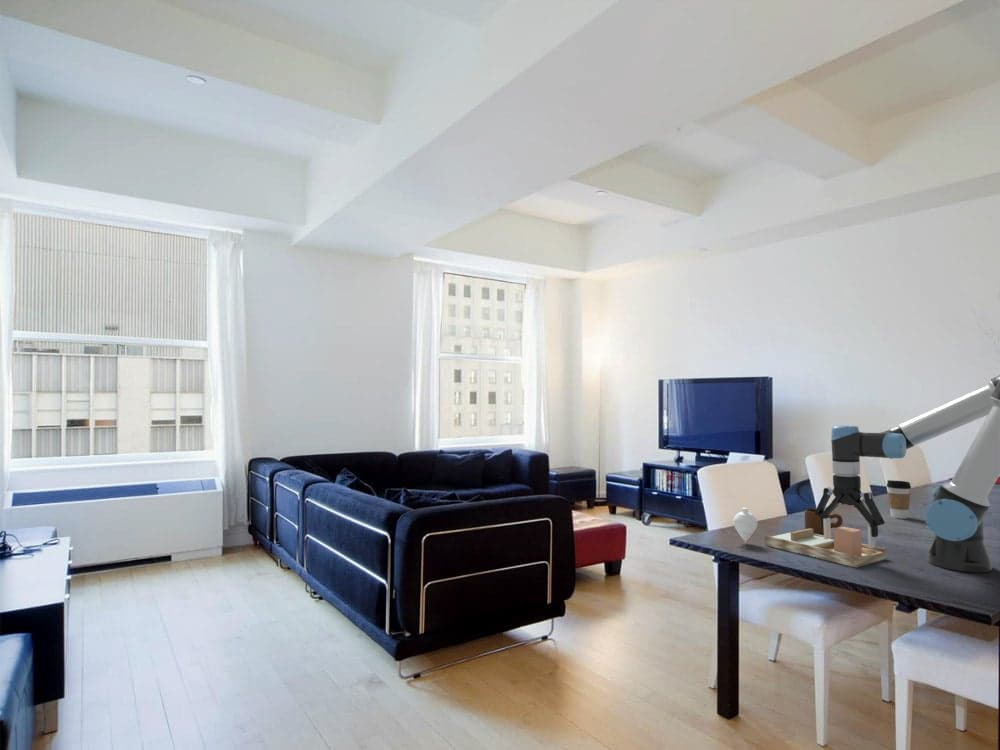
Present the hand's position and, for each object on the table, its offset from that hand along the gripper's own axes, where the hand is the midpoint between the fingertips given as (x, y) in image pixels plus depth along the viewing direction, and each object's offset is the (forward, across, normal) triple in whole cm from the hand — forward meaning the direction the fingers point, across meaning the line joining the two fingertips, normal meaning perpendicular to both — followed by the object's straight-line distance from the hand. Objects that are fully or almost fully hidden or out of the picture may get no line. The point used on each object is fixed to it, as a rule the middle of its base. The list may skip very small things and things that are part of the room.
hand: (849, 542), depth 185 cm
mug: (+5, +18, -18) cm, 26 cm away
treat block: (+4, 0, 0) cm, 4 cm away
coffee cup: (+5, +22, -78) cm, 81 cm away
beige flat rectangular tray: (+4, +9, 0) cm, 10 cm away
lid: (+2, +15, 0) cm, 16 cm away
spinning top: (+4, +28, +12) cm, 31 cm away
